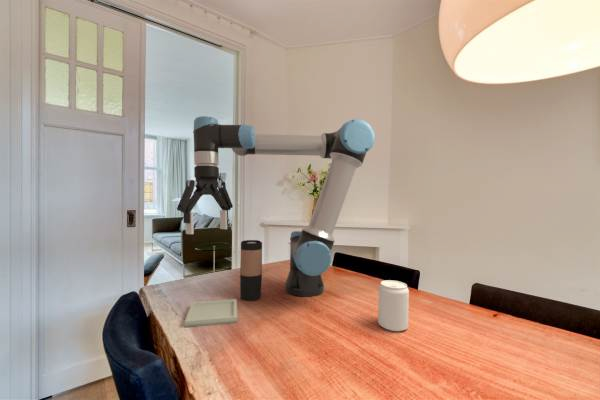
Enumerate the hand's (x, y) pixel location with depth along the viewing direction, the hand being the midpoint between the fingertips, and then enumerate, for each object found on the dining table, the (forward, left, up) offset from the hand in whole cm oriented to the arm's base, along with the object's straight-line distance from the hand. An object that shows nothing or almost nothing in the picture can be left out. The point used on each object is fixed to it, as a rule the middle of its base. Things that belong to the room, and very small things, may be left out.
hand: (207, 231), depth 89 cm
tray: (-2, +7, -25) cm, 26 cm away
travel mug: (-14, -5, -25) cm, 29 cm away
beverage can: (-52, +25, -25) cm, 63 cm away
